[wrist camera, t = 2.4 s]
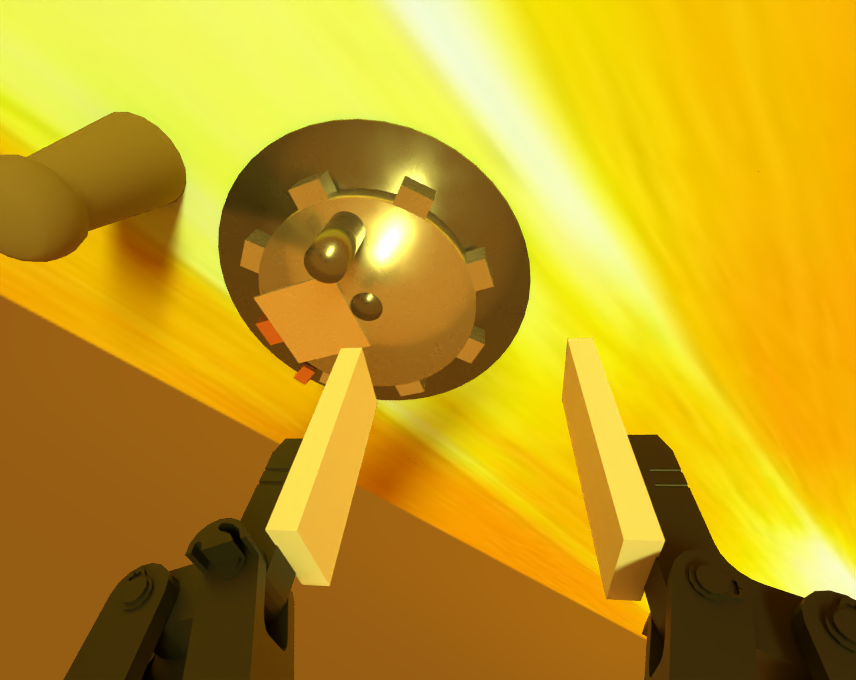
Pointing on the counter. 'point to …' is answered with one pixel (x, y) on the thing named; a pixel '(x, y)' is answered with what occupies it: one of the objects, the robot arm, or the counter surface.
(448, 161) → the plate
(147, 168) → the pepper mill
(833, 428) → the counter surface
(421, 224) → the sprocket
